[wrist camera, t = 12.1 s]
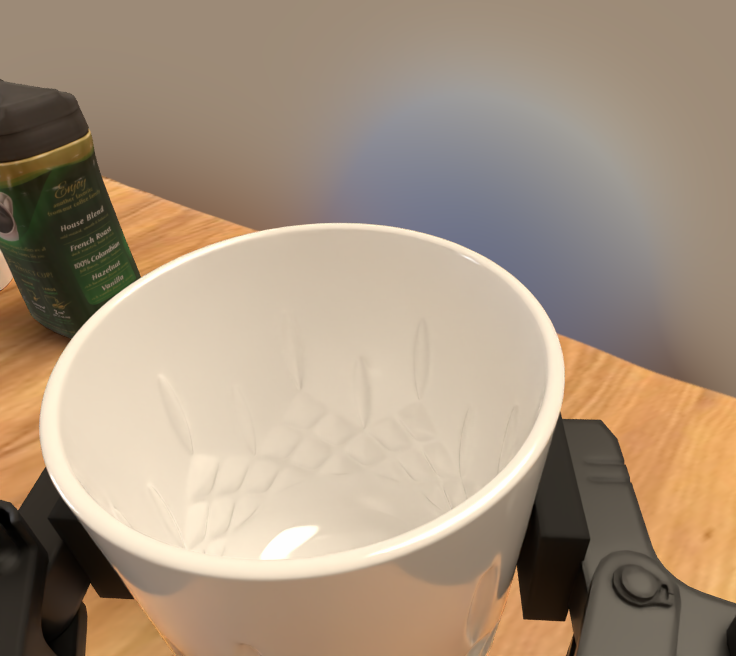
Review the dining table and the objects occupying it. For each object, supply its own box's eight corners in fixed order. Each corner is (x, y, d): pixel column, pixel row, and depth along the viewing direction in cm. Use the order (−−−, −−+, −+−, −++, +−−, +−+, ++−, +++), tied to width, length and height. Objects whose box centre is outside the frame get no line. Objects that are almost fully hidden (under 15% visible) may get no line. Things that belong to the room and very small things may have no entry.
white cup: (438, 479, 19) (447, 196, 13) (565, 755, 13) (693, 469, 7) (192, 545, 18) (71, 262, 12) (207, 888, 12) (-25, 676, 6)
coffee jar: (167, 303, 51) (92, 76, 39) (87, 355, 46) (-25, 112, 34) (98, 273, 55) (13, 62, 44) (19, 318, 50) (-101, 92, 39)
